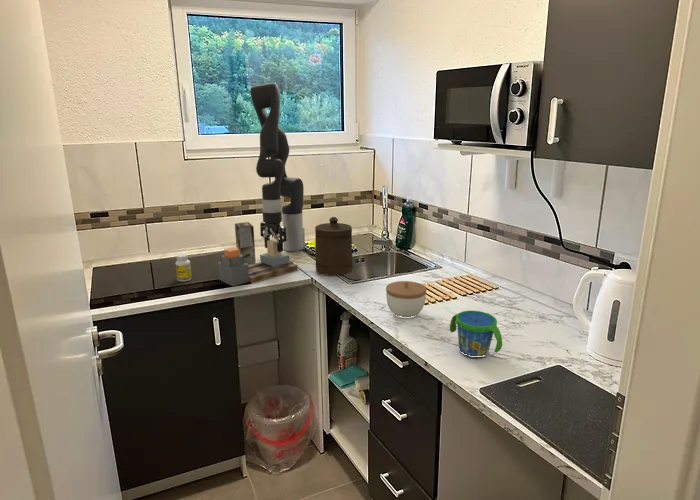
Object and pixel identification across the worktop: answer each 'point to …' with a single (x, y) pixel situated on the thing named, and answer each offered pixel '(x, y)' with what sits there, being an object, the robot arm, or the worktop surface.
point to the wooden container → (333, 248)
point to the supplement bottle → (183, 268)
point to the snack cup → (476, 332)
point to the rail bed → (268, 270)
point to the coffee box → (245, 241)
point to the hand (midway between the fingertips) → (273, 249)
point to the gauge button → (231, 252)
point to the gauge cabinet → (233, 270)
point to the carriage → (274, 255)
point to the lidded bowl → (405, 298)
